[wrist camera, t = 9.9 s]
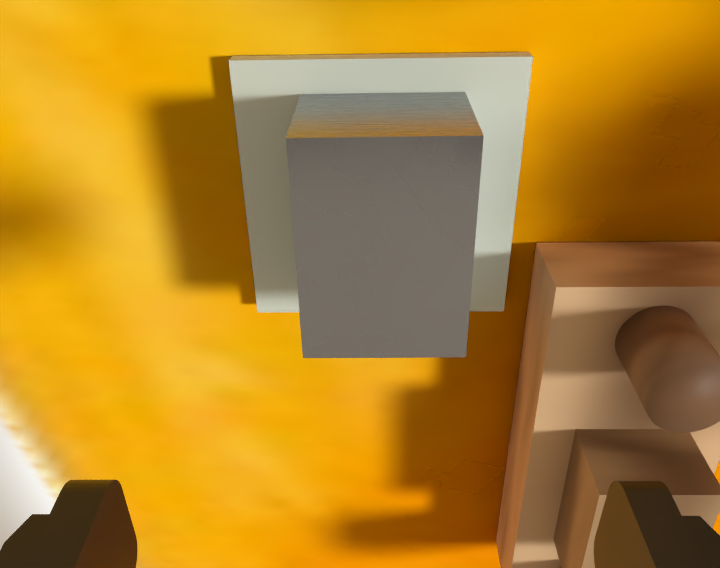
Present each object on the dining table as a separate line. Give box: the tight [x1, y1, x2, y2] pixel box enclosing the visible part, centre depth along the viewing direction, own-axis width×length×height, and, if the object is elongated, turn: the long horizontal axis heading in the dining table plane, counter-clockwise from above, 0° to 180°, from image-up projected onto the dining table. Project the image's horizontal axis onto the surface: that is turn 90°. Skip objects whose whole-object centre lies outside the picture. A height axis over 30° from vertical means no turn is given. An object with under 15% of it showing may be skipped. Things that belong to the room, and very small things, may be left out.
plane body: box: [496, 241, 720, 568], centre depth 24 cm, size 7×16×9 cm, turn 1°
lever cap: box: [286, 92, 484, 358], centre depth 20 cm, size 5×7×4 cm
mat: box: [228, 52, 533, 312], centre depth 22 cm, size 9×9×1 cm
